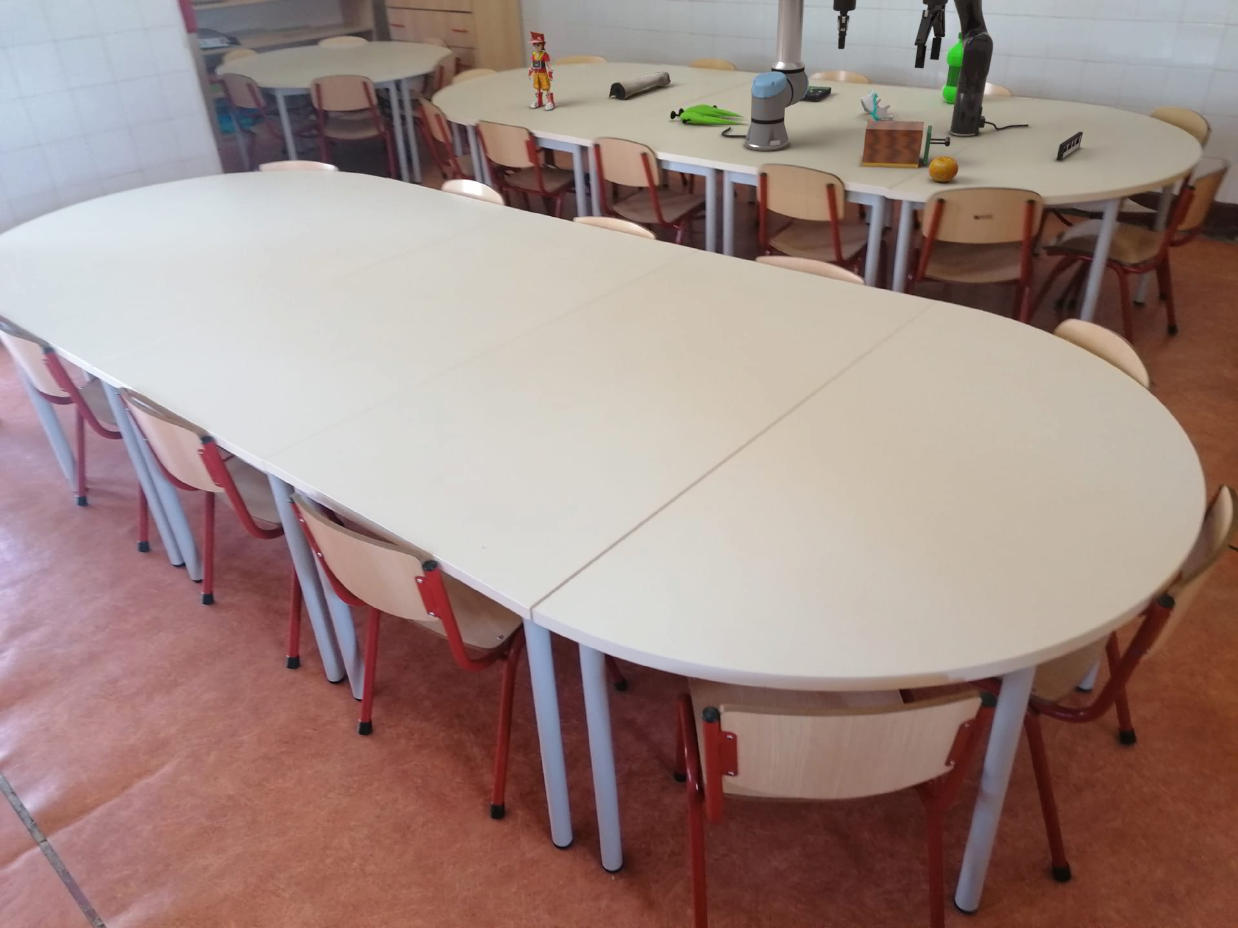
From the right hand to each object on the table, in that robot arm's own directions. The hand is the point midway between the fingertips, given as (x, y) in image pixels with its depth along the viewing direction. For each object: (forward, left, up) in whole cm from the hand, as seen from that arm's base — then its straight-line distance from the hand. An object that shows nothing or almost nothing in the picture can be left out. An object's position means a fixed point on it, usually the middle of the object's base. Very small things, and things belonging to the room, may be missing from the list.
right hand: (841, 46), depth 311 cm
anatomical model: (-15, -23, -29) cm, 40 cm away
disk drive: (+9, -55, -29) cm, 63 cm away
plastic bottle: (-46, -46, -29) cm, 71 cm away
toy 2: (+47, -17, -29) cm, 58 cm away
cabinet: (-18, +35, -29) cm, 49 cm away
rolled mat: (+84, -67, -29) cm, 111 cm away
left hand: (-27, +24, -1) cm, 36 cm away
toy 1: (+122, -40, -29) cm, 132 cm away
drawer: (-25, +35, -28) cm, 52 cm away
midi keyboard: (-75, +25, -29) cm, 84 cm away
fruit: (-33, +54, -29) cm, 70 cm away
